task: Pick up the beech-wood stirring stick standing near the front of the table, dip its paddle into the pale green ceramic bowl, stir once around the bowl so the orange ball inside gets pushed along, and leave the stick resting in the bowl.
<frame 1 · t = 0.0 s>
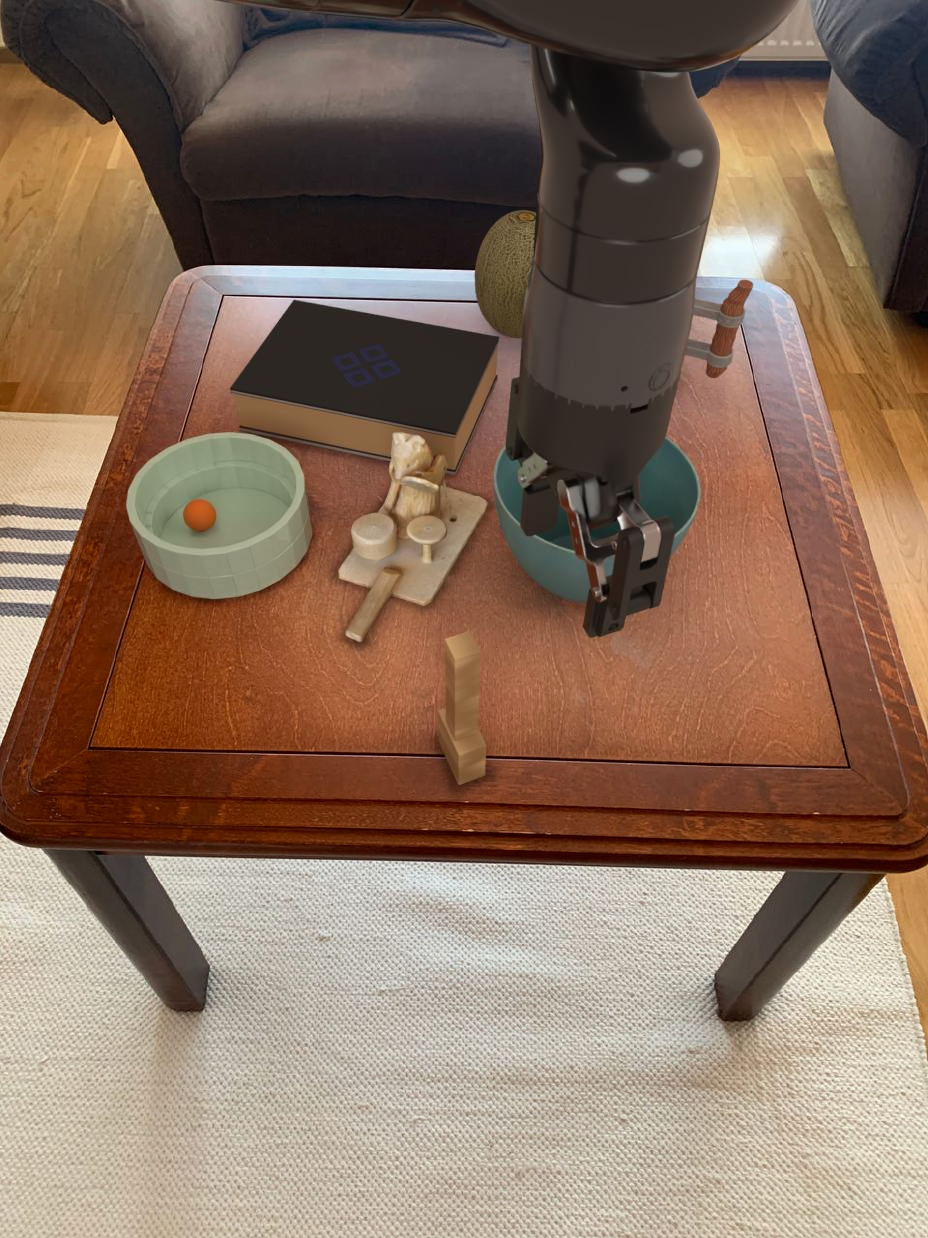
hand: (568, 577, 55), 26 cm above the table, tool pointing down, fingers open, 8 cm apart
mug: (642, 376, 110), on the table
fruit: (517, 331, 116), on the table
stick: (461, 758, 77), on the table
ball: (199, 515, 91), point 2 cm above the table, touching bowl
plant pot: (581, 571, 91), on the table
book: (373, 411, 106), on the table
bowl: (230, 540, 93), on the table
wooden toy: (401, 561, 91), on the table
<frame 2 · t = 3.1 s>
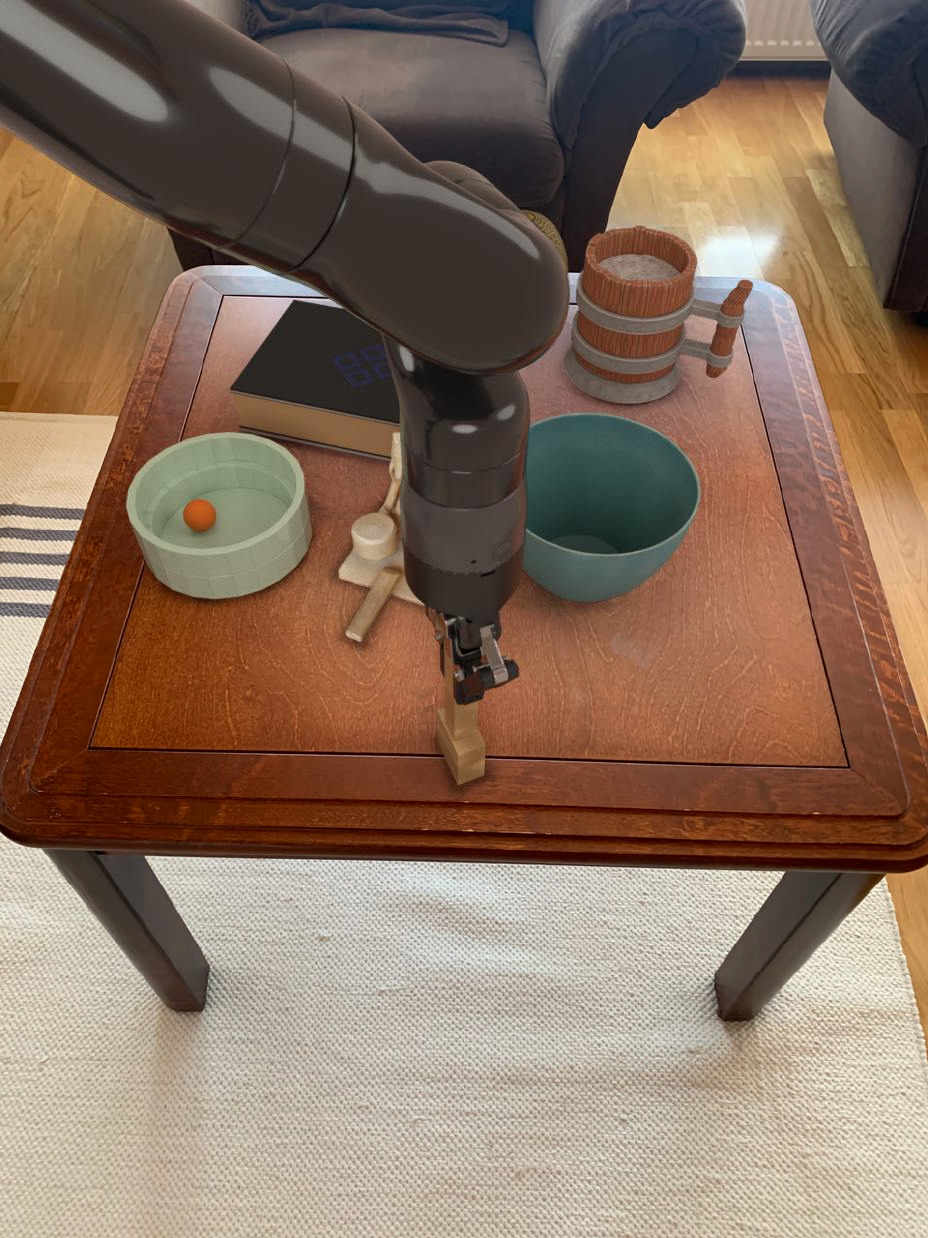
hand: (462, 684, 69), 11 cm above the table, tool pointing down, fingers closed on stick, 2 cm apart
stick: (460, 758, 77), on the table, touching gripper
everything else where it was.
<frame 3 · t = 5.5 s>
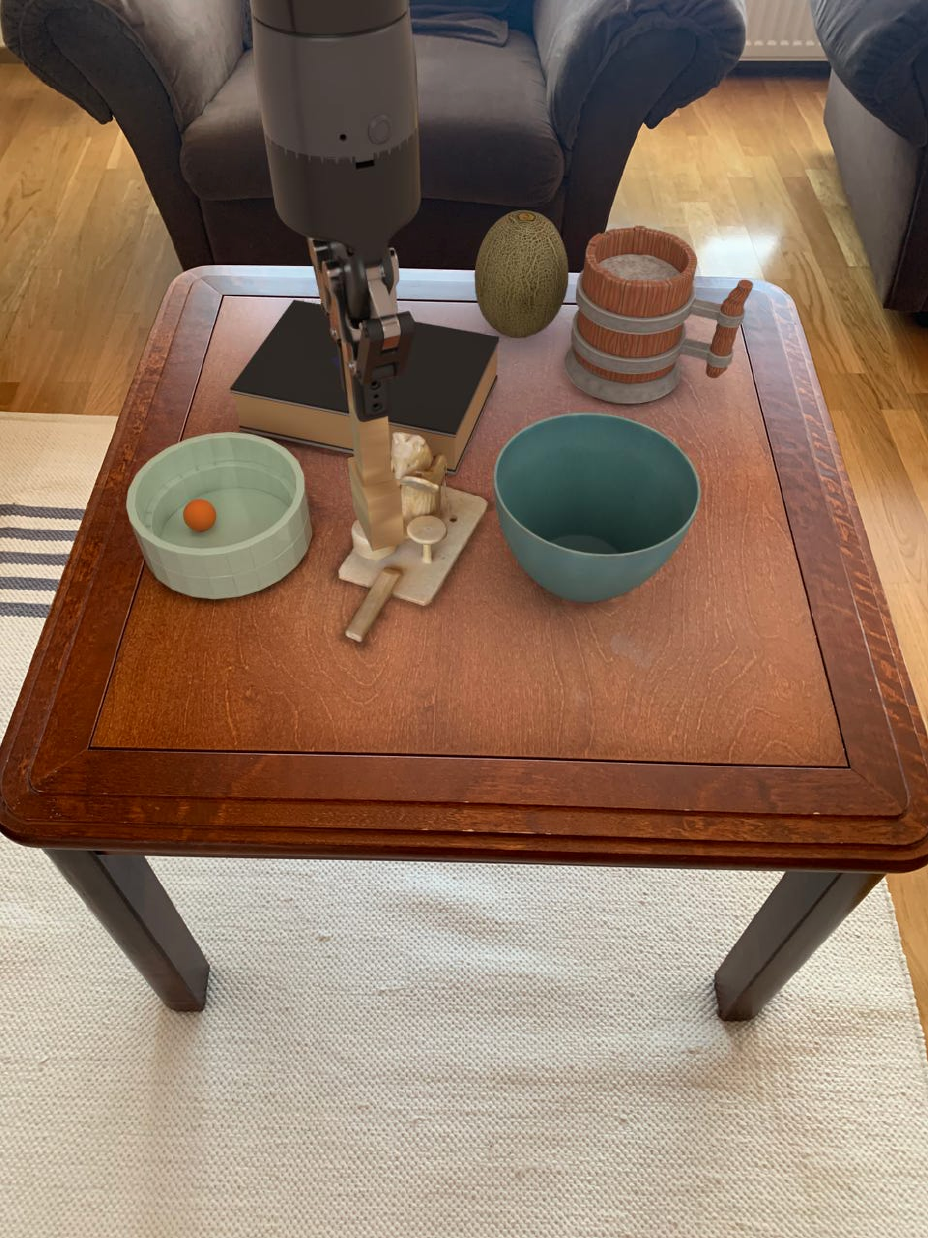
hand: (367, 402, 58), 31 cm above the table, tool pointing down, fingers closed on stick
stick: (378, 525, 66), point 20 cm above the table, touching gripper
everything else where it was.
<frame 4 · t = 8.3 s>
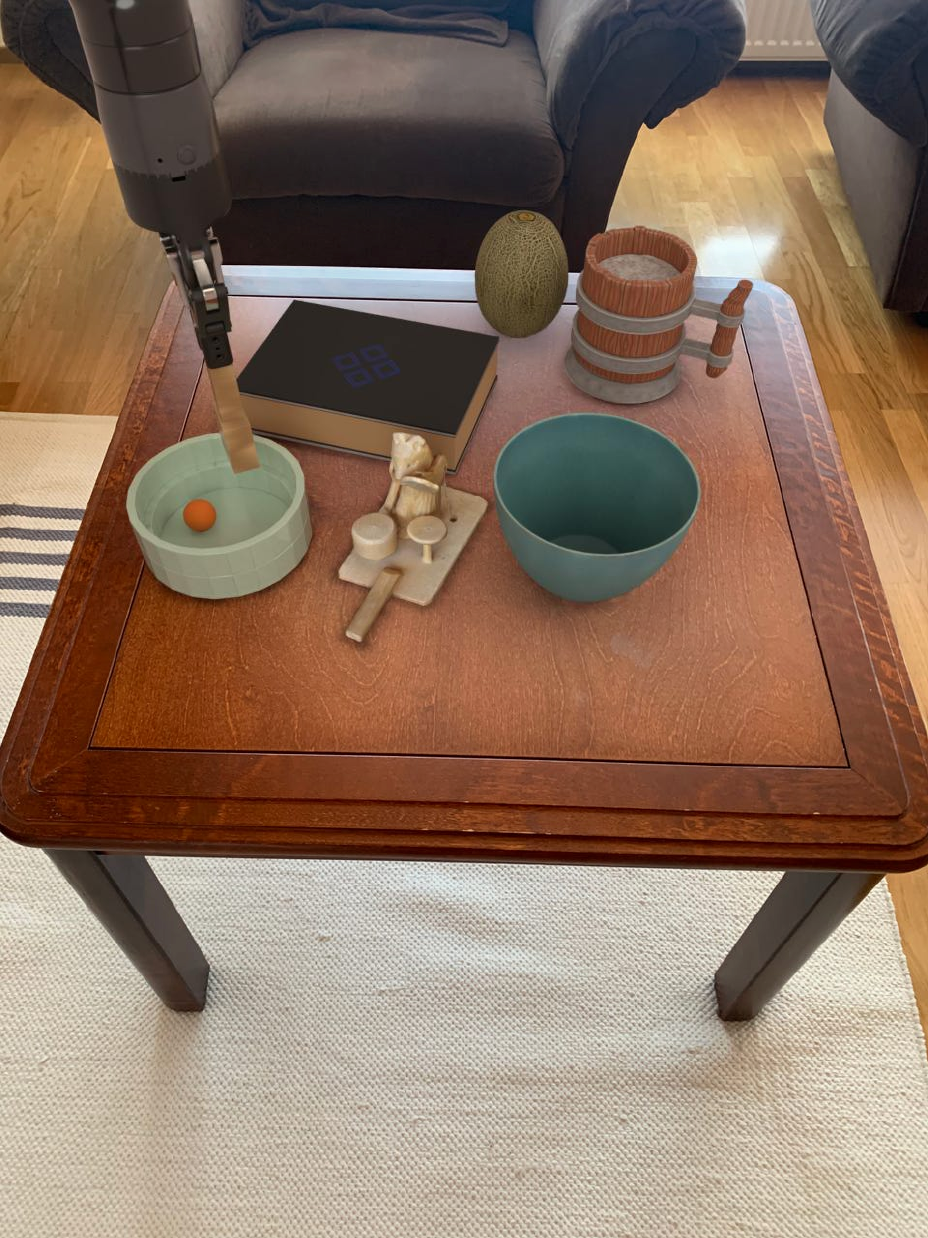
hand: (216, 355, 77), 21 cm above the table, tool pointing down, fingers closed on stick
stick: (241, 455, 85), point 10 cm above the table, touching gripper
everything else where it was.
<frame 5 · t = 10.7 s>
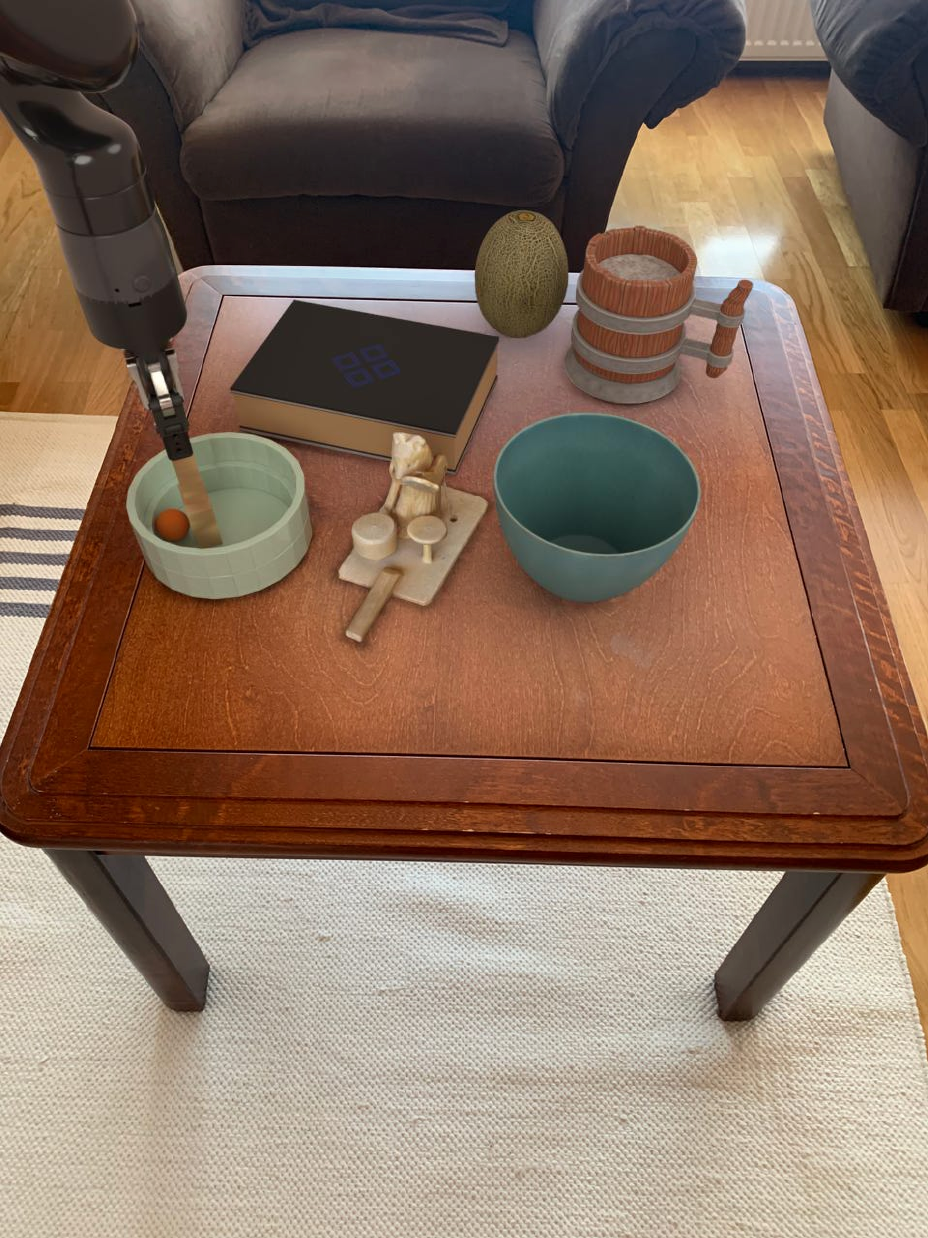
hand: (178, 446, 82), 13 cm above the table, tool pointing down, fingers closed on stick, 2 cm apart
stick: (206, 532, 91), point 2 cm above the table, touching ball, gripper
ball: (172, 524, 91), point 2 cm above the table, tilted 93°, touching bowl, stick
everything else where it was.
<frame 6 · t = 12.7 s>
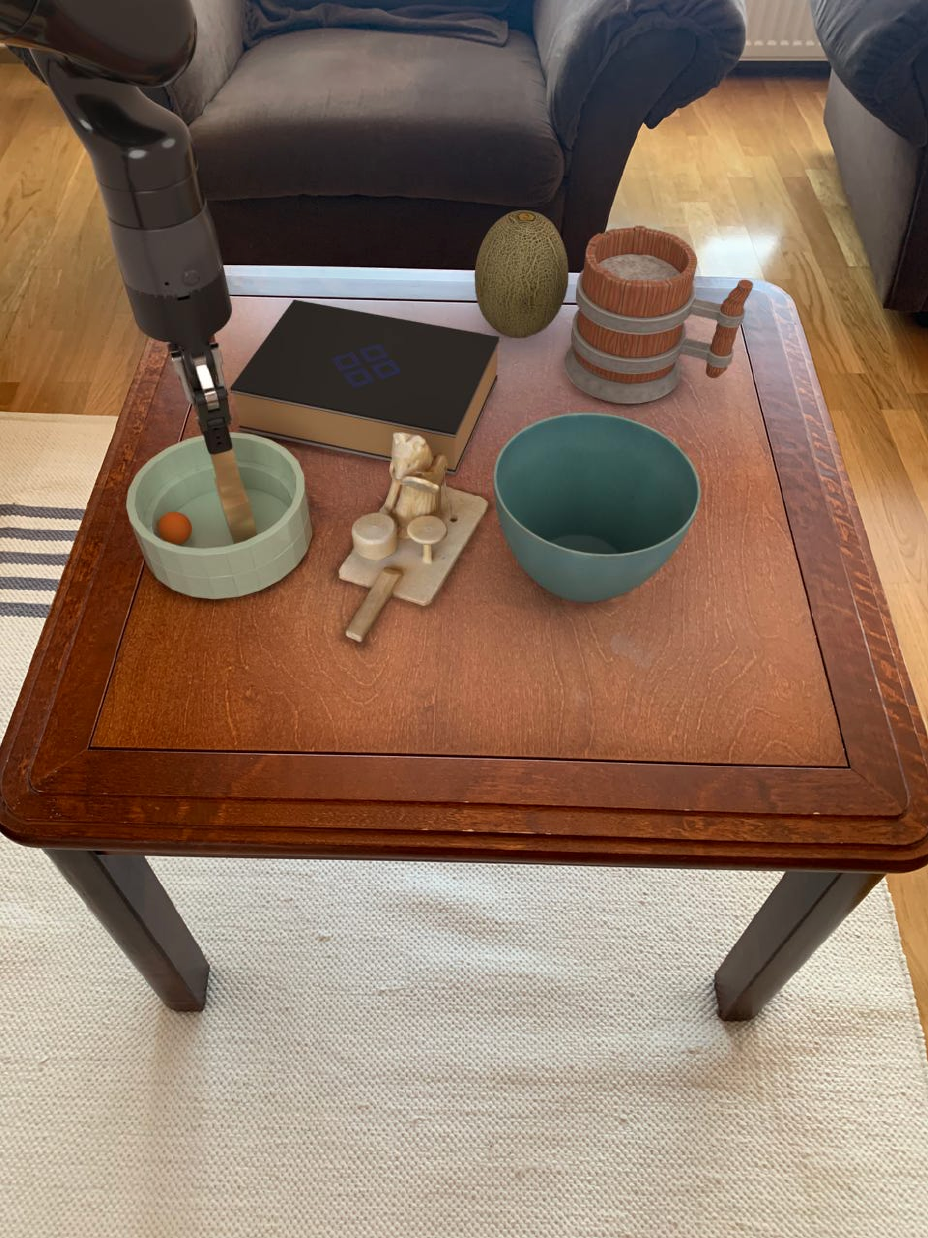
hand: (217, 440, 83), 13 cm above the table, tool pointing down, fingers closed on stick, 2 cm apart
stick: (240, 526, 91), point 2 cm above the table, touching gripper
ball: (174, 528, 90), point 2 cm above the table, tilted 87°, touching bowl
everything else where it was.
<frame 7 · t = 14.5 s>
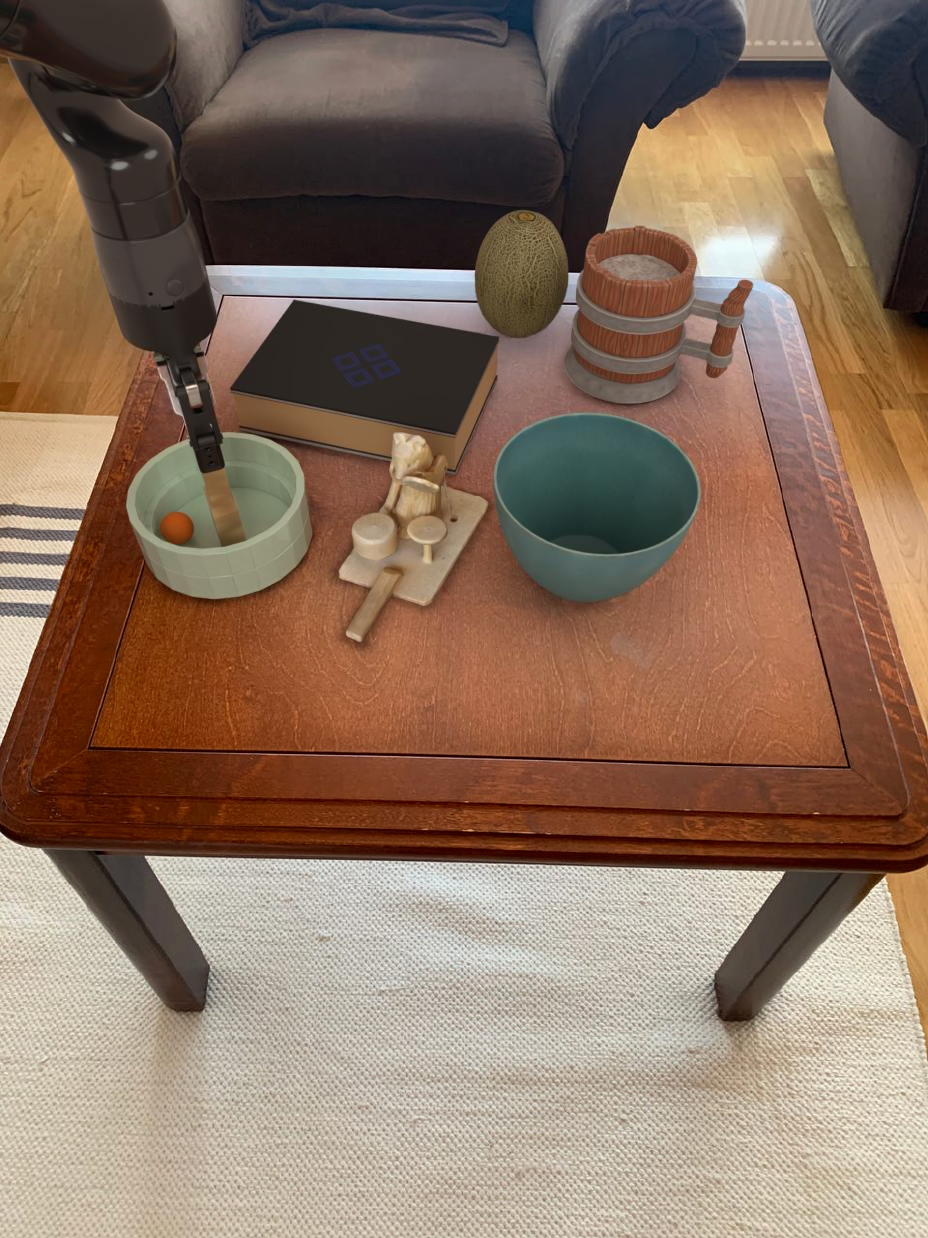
hand: (201, 438, 82), 13 cm above the table, tool pointing down, fingers open, 8 cm apart
stick: (230, 534, 92), point 1 cm above the table, touching bowl
ball: (177, 527, 90), point 2 cm above the table, tilted 80°, touching bowl
everything else where it was.
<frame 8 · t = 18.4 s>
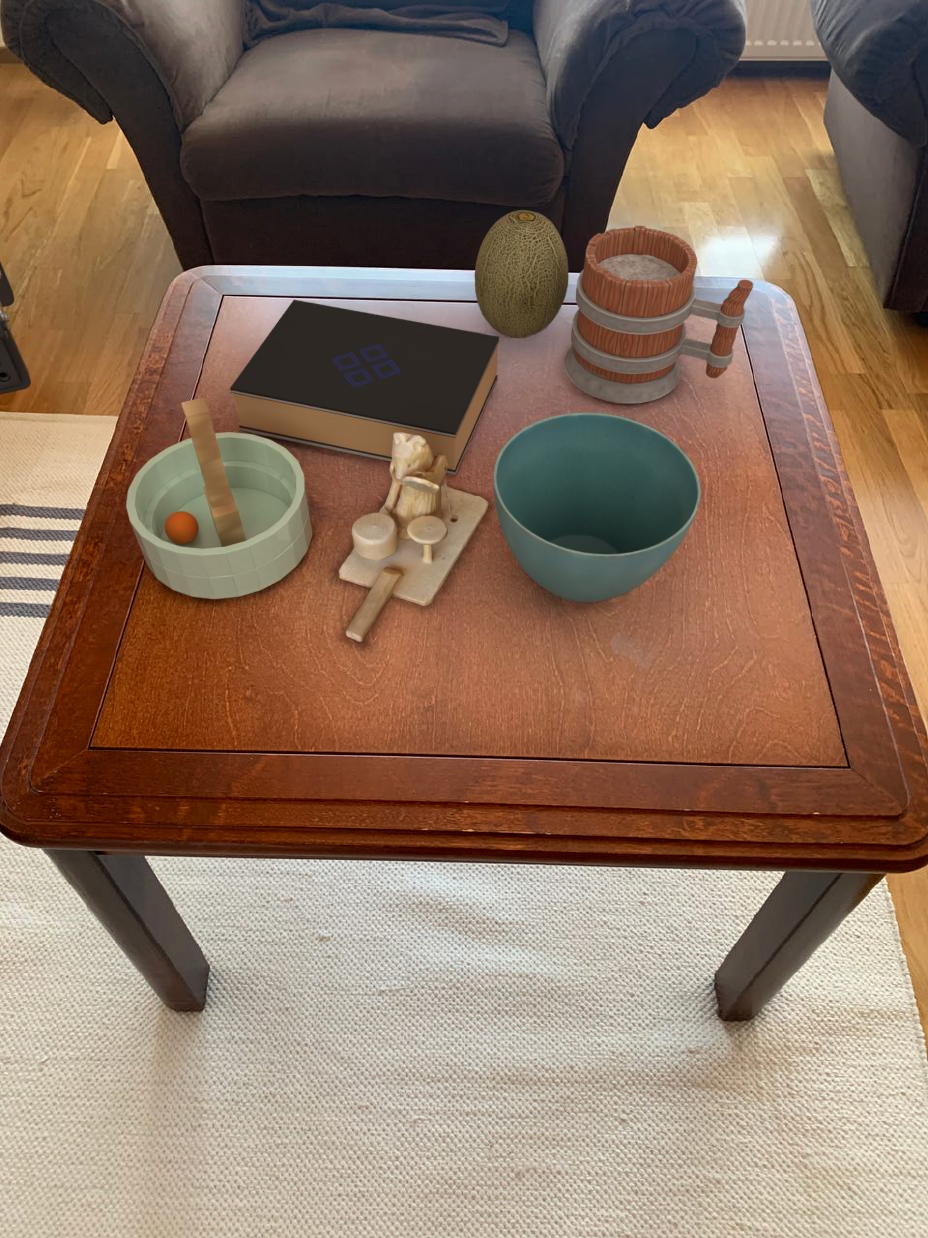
hand: (4, 344, 53), 36 cm above the table, tool pointing down, fingers open, 8 cm apart
ball: (181, 527, 90), point 2 cm above the table, tilted 64°, touching bowl
everything else where it was.
at the end: ball moved 2.2 cm from its start; stick inside the target area in the bowl (0.2 cm from its centre), point 0.8 cm above the bowl's base; the gripper is holding nothing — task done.
